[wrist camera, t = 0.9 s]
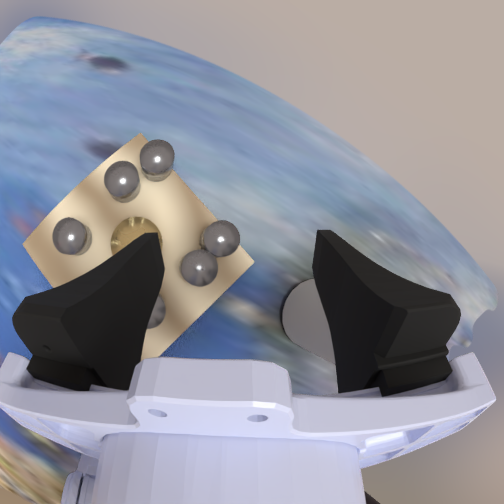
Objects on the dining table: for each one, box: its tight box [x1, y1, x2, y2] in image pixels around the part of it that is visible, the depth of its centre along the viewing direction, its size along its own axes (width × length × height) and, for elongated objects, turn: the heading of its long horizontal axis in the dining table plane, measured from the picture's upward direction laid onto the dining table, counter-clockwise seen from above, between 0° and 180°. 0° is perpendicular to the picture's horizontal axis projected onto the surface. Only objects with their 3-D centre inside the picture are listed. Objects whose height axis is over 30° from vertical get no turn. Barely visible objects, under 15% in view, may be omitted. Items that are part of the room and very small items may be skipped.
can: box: [283, 279, 336, 365], centre depth 24 cm, size 8×8×12 cm
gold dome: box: [111, 217, 163, 255], centre depth 22 cm, size 4×4×2 cm
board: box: [23, 133, 254, 361], centre depth 23 cm, size 16×17×1 cm
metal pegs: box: [52, 140, 240, 329], centre depth 22 cm, size 13×13×3 cm
